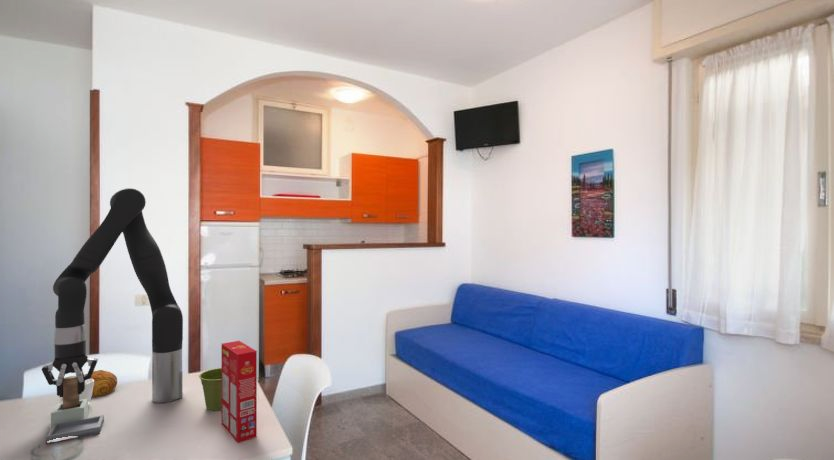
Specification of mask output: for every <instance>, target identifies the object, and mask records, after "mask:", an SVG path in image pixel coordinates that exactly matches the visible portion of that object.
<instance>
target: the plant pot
mask: <svg viewBox="0 0 834 460" xmlns="http://www.w3.org/2000/svg"><path fill="white" fill-rule="evenodd" d="M198 378H199V380H200V382H201V385H202V390H203V396H204V402H205V408H206V409H207V410H210V411H220V410H221V411H222V367H217V368H211V369H208V370H205V371H203V372H201V373H200V374H199V375H198Z"/></svg>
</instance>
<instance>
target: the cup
mask: <svg viewBox="0 0 834 460" xmlns="http://www.w3.org/2000/svg"><path fill="white" fill-rule="evenodd" d="M93 386H94V380H93V379H87V380H85V389H84V391H83V392H82V394H79V400H82V399H88V406H90V404H91V403H90V402H91V399H92V397H91V396H92V392H93Z"/></svg>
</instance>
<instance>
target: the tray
mask: <svg viewBox="0 0 834 460" xmlns="http://www.w3.org/2000/svg"><path fill="white" fill-rule="evenodd" d="M104 423H105V415H104V414H101V415H96V416H89V417H87V418H84V419H78V420H73V421H67V422H62V423H56V424H54V425H53V426H52V428H51V427H50V430H49V432H48V433H47V434H46V437H45V442H46V441H49V440H53V439H56V438H62V437H68V436H78V437H80V438H83V437H84V438H85V437H89V436H94V435H99V434H101V431H102V428H103V424H104Z"/></svg>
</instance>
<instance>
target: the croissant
mask: <svg viewBox="0 0 834 460" xmlns="http://www.w3.org/2000/svg"><path fill="white" fill-rule="evenodd" d="M87 374H88V372H87V373H84V376H85V375H87ZM90 379H93V380H94V386H93V392H92V396H91V398H93V397H99V396H104V395H108V394H110V393H111V392H113V391H114V389H115V388H116V387H117V385H118V377H117V376H116V375H115V374H114V373H113V372H111V371H107V370H103V369H99V370H94V371H93V374H92V376H91V378H90Z"/></svg>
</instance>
